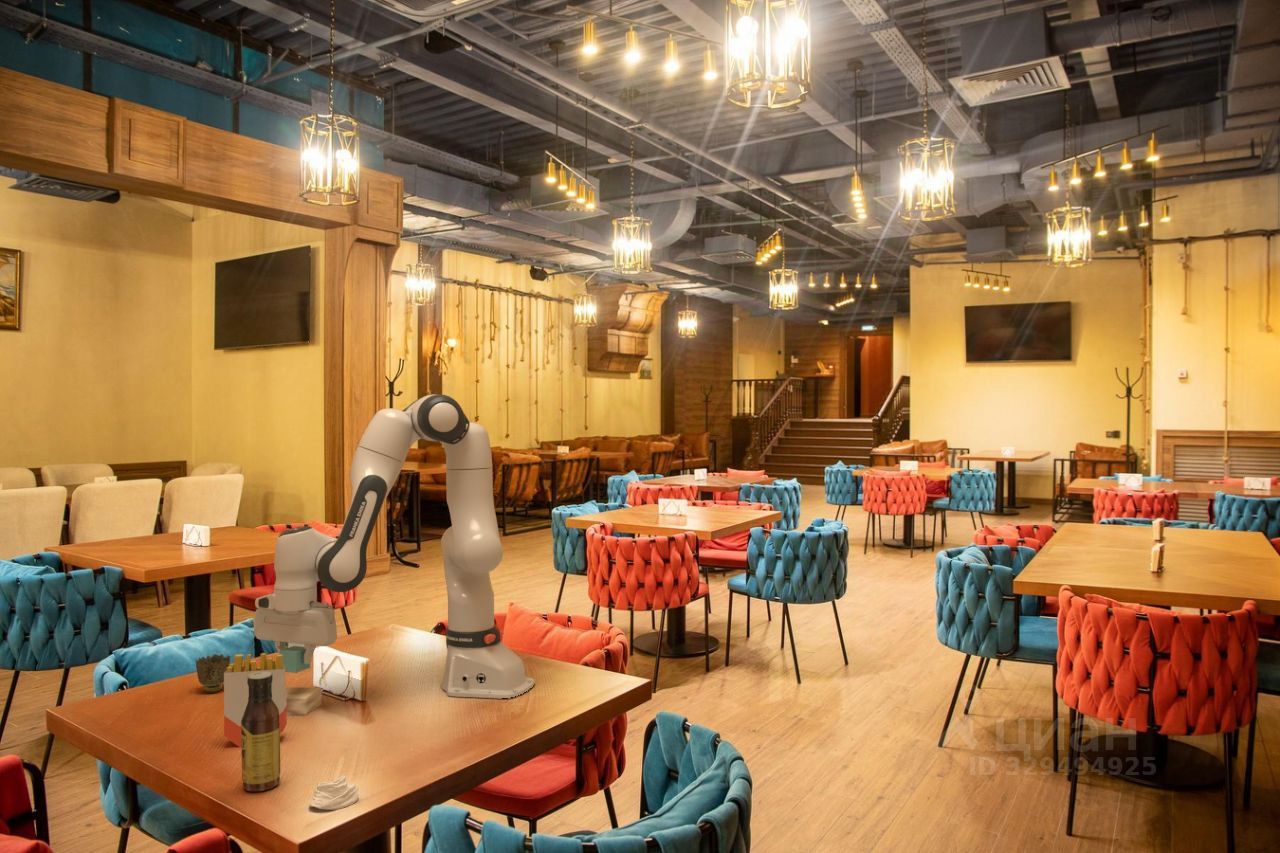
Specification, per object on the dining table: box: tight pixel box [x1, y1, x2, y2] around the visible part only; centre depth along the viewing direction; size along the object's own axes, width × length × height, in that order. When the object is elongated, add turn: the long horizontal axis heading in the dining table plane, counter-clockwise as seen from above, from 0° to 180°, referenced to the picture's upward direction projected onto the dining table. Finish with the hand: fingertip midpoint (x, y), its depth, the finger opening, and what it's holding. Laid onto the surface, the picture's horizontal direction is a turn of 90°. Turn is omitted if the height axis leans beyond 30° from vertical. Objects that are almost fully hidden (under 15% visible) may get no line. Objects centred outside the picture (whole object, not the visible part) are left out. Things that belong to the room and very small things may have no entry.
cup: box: [195, 653, 231, 694], centre depth 204 cm, size 8×7×8 cm
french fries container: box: [223, 652, 288, 748], centre depth 171 cm, size 5×11×18 cm, turn 104°
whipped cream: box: [308, 774, 360, 811], centre depth 144 cm, size 8×7×5 cm
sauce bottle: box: [240, 671, 281, 792], centre depth 150 cm, size 6×6×20 cm
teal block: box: [280, 646, 311, 674], centre depth 191 cm, size 4×4×4 cm
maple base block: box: [286, 686, 323, 717], centre depth 191 cm, size 8×8×4 cm
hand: (295, 662), depth 191 cm, fingers closed on teal block, 4 cm apart
